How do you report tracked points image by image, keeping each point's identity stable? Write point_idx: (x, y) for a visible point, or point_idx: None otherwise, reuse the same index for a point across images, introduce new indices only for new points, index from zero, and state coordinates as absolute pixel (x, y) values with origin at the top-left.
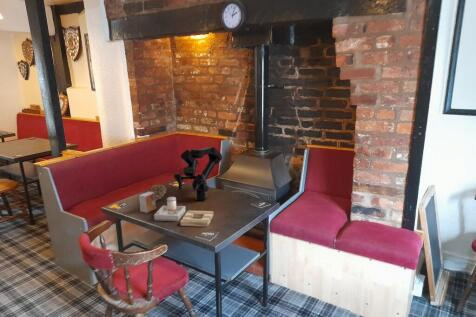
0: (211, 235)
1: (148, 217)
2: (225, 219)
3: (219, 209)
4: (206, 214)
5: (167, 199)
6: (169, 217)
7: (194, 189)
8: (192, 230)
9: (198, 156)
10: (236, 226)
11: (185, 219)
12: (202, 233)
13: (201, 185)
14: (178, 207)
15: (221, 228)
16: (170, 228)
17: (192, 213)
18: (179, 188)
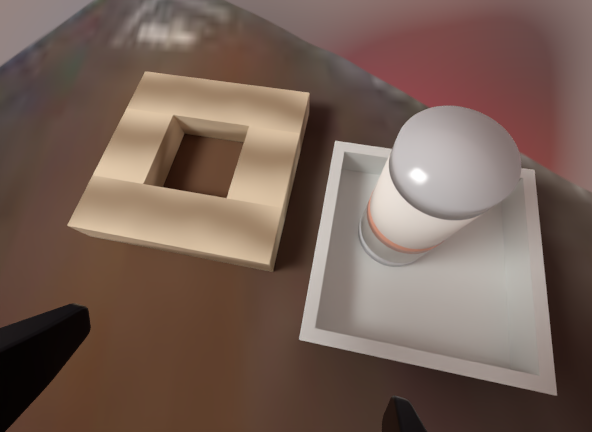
0: (154, 19)
1: (579, 249)
2: (32, 168)
3: None
4: (129, 176)
5: (495, 123)
6: None
7: (63, 313)
8: (240, 62)
9: None
10: (9, 86)
11: (279, 114)
12: (193, 36)
13: None
14: (367, 339)
15: (91, 72)
16: (362, 87)
17: (231, 202)
18: (416, 428)
